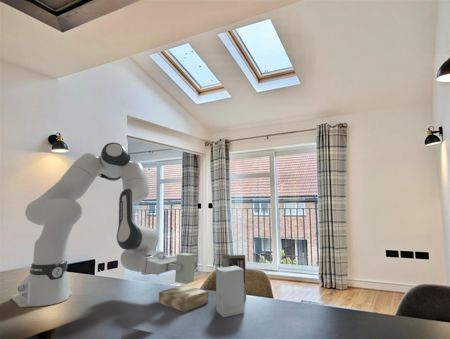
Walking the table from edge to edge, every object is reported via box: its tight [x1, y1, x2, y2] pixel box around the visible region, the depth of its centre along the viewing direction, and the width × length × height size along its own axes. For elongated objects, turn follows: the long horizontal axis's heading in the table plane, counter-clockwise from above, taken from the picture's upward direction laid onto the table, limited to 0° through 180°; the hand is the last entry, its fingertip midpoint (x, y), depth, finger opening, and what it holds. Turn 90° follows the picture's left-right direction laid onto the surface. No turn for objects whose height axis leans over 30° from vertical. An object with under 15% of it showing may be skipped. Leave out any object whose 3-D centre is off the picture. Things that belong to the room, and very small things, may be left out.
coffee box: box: [221, 254, 247, 302], centre depth 116 cm, size 9×6×16 cm
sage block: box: [174, 252, 196, 285], centre depth 111 cm, size 5×5×10 cm
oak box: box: [158, 284, 209, 313], centre depth 110 cm, size 14×12×4 cm
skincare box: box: [215, 266, 245, 318], centre depth 100 cm, size 8×6×15 cm
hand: (186, 266), depth 111 cm, fingers closed on sage block, 5 cm apart
